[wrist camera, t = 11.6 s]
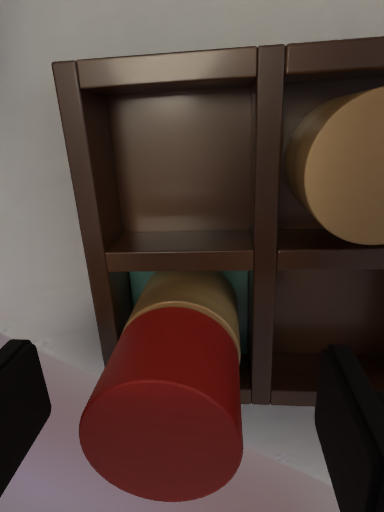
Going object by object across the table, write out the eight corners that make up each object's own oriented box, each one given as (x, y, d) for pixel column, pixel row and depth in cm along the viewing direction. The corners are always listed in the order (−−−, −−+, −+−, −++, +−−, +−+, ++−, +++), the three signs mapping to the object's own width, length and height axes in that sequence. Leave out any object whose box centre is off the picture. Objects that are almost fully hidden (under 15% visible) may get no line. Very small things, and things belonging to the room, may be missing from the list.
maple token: (237, 260, 14) (240, 301, 11) (237, 346, 16) (240, 404, 13) (137, 261, 15) (111, 300, 12) (146, 344, 17) (126, 400, 13)
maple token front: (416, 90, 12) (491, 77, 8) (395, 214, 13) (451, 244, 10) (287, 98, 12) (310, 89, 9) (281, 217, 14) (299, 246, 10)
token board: (456, 48, 12) (528, 24, 9) (393, 362, 16) (427, 411, 14) (87, 74, 13) (49, 61, 10) (128, 357, 18) (109, 400, 15)
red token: (238, 306, 11) (243, 383, 8) (238, 408, 13) (243, 508, 9) (110, 305, 12) (63, 378, 8) (125, 404, 13) (91, 498, 10)
